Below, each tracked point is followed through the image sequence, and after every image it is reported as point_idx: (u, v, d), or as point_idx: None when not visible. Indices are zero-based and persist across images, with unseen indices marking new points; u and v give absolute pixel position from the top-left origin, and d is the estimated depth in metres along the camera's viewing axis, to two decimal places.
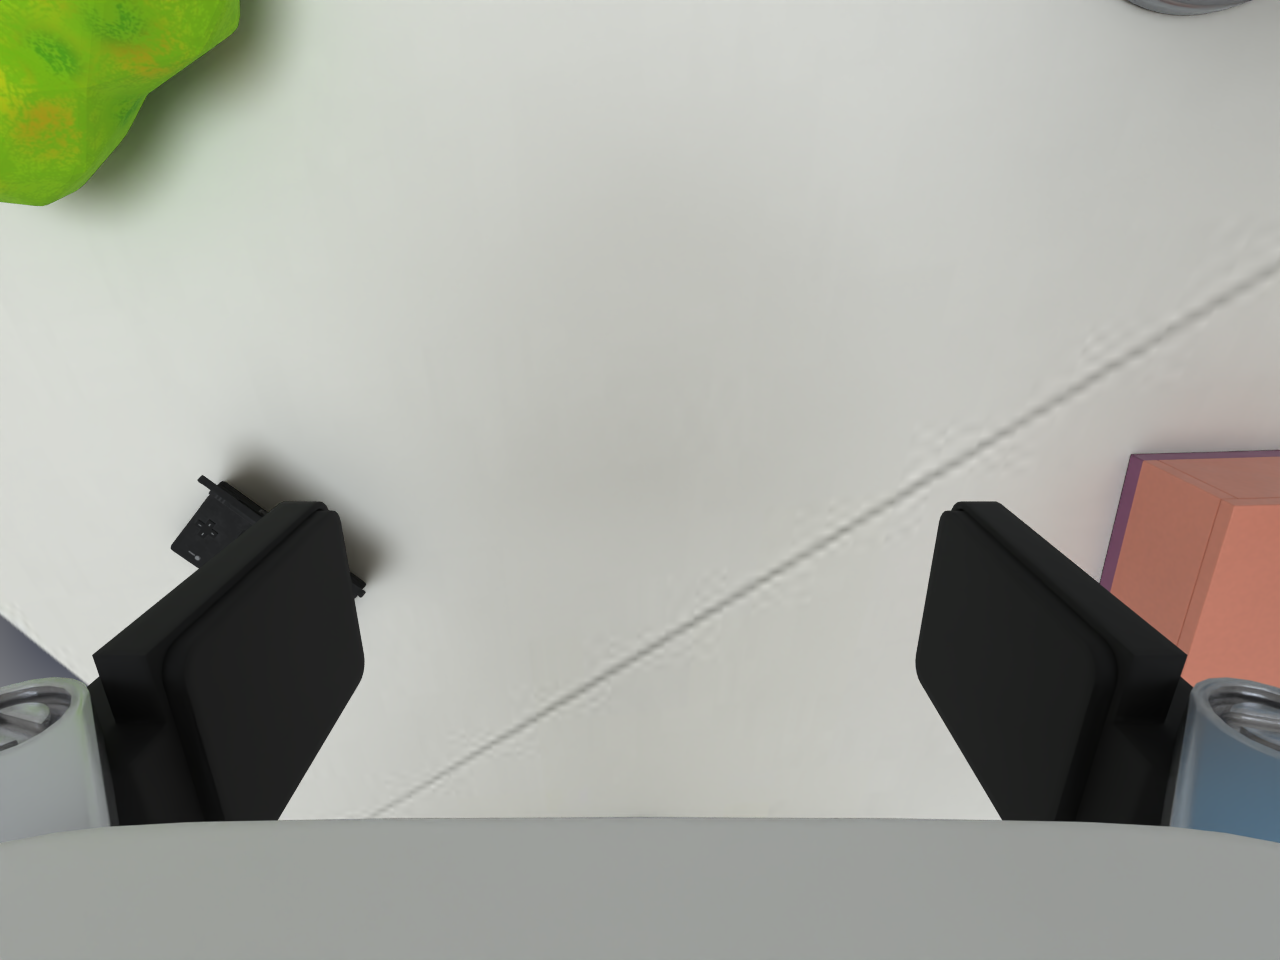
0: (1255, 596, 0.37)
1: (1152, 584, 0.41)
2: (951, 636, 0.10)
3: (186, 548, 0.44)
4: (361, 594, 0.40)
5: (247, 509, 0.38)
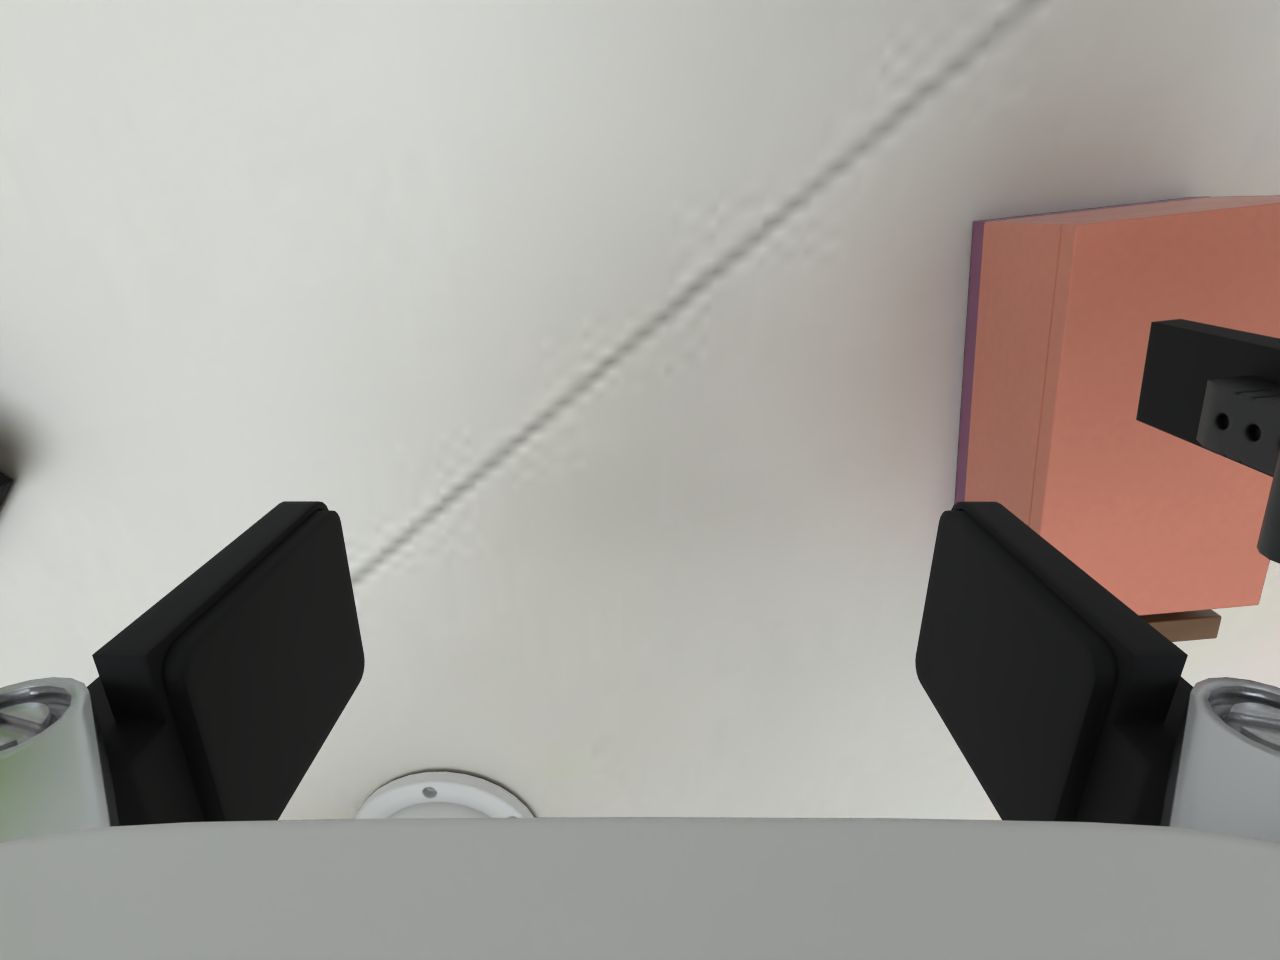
0: (1129, 369, 0.26)
1: (1006, 387, 0.30)
2: (951, 636, 0.10)
3: None
4: None
5: None
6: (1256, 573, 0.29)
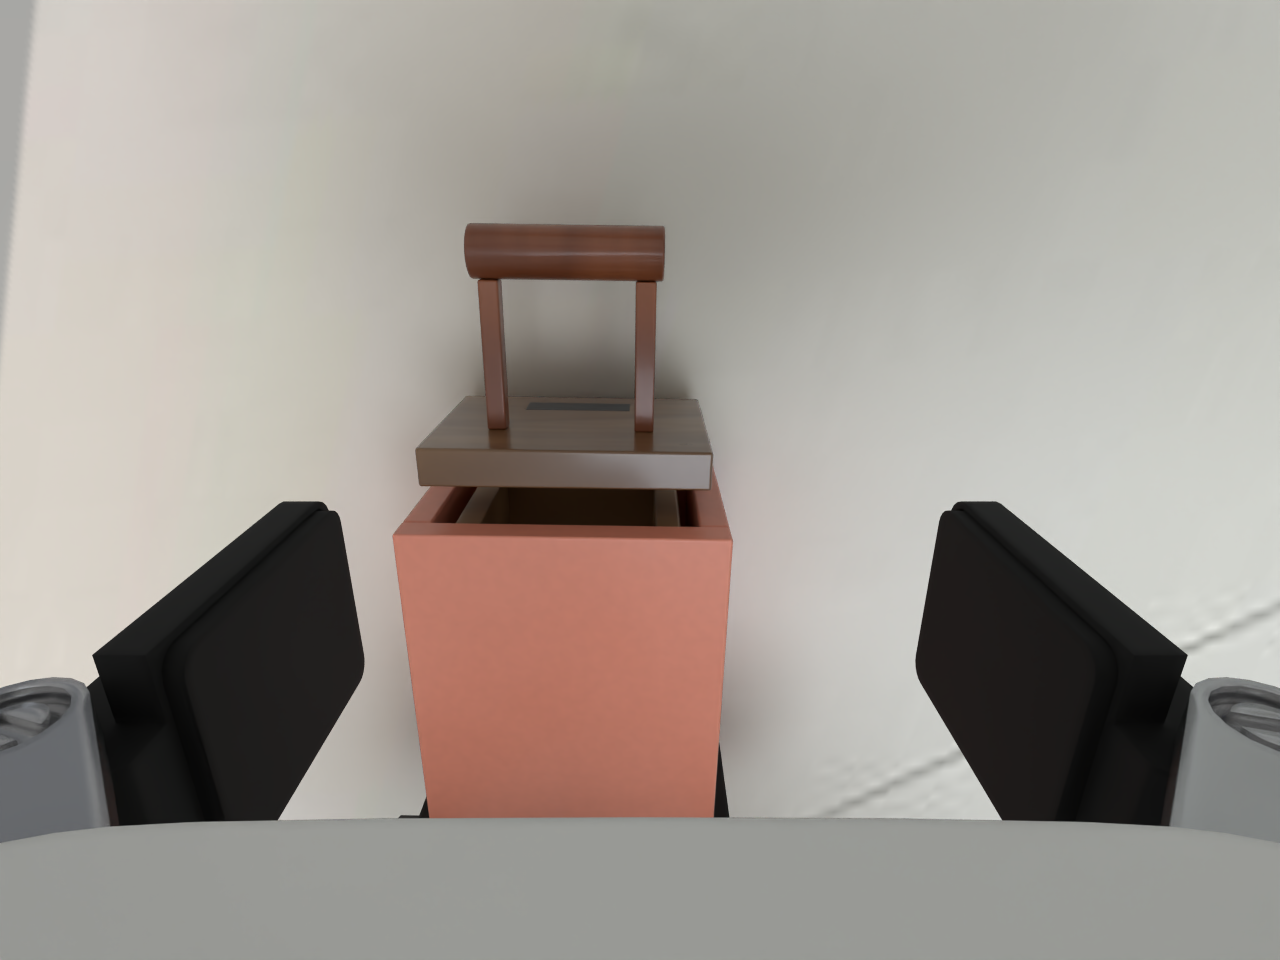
0: None
1: None
2: (951, 636, 0.10)
3: None
4: None
5: None
6: (413, 583, 0.20)
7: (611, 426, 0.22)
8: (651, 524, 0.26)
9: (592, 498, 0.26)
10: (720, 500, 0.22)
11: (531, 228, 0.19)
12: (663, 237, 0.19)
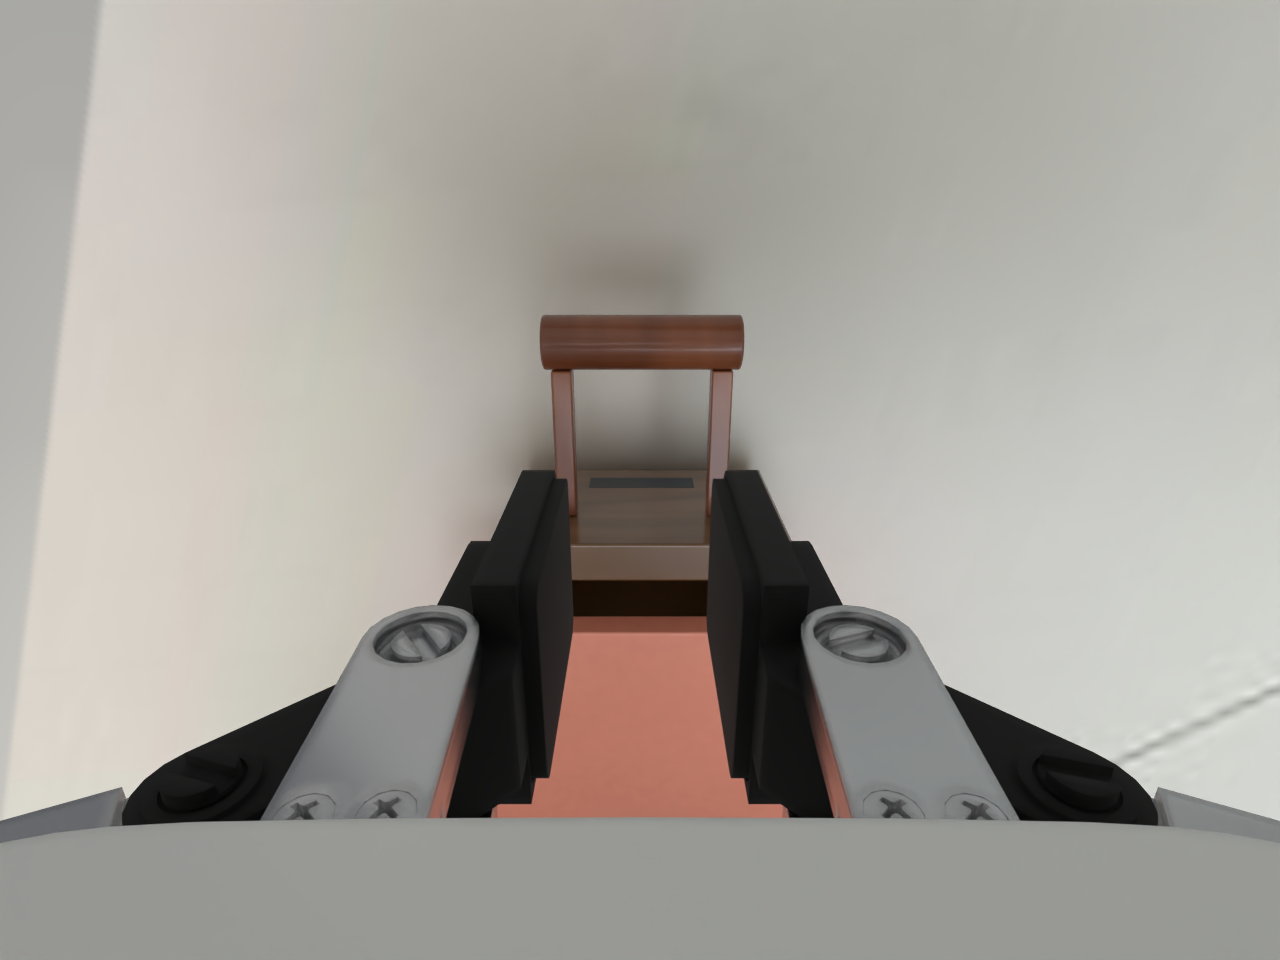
0: None
1: None
2: (714, 590, 0.11)
3: None
4: None
5: None
6: None
7: (681, 509, 0.22)
8: None
9: None
10: None
11: (607, 321, 0.19)
12: (742, 328, 0.19)
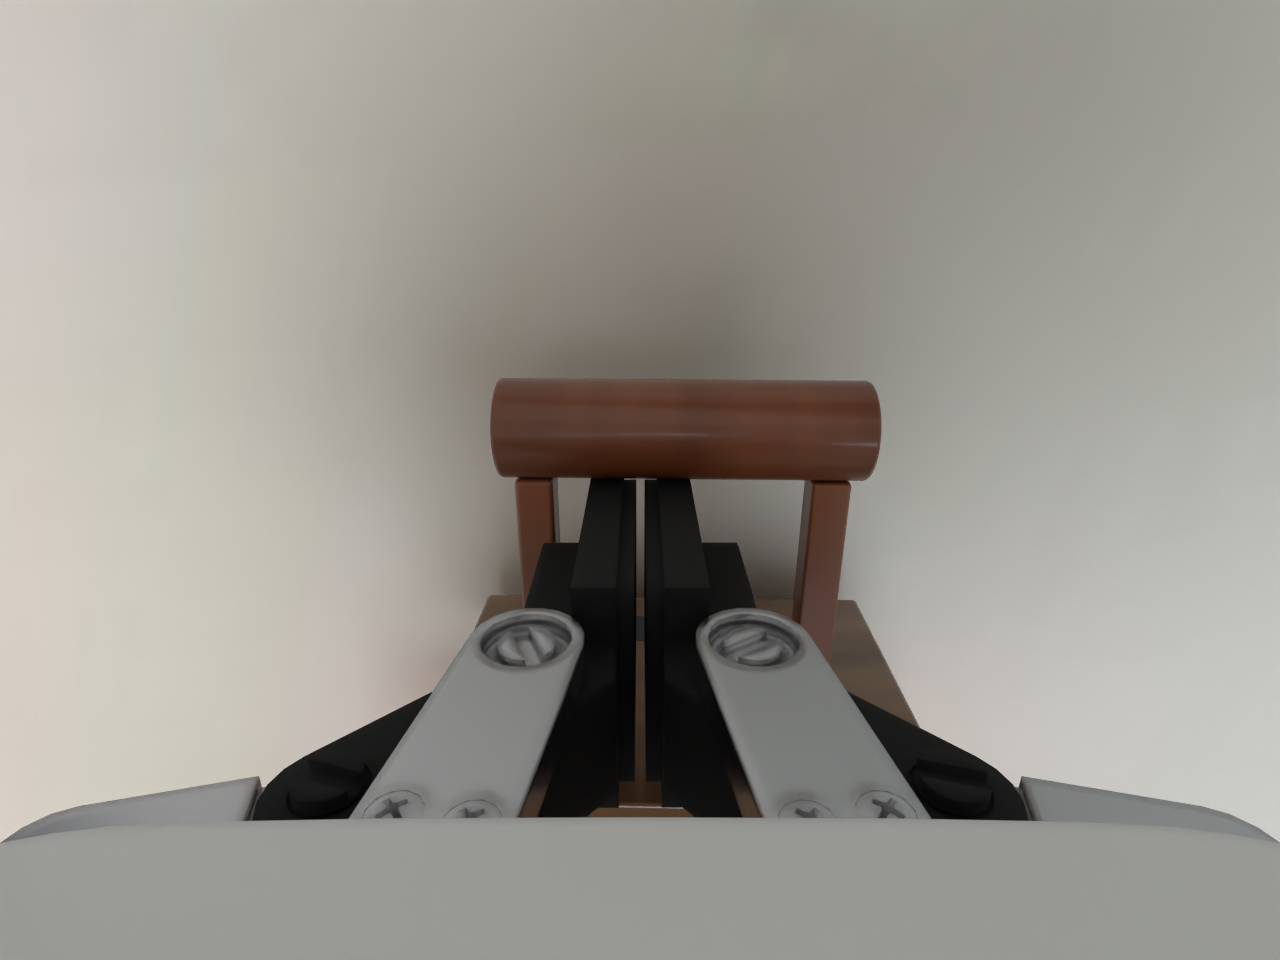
0: None
1: None
2: None
3: None
4: None
5: None
6: None
7: None
8: None
9: None
10: None
11: (619, 393, 0.10)
12: (878, 410, 0.10)
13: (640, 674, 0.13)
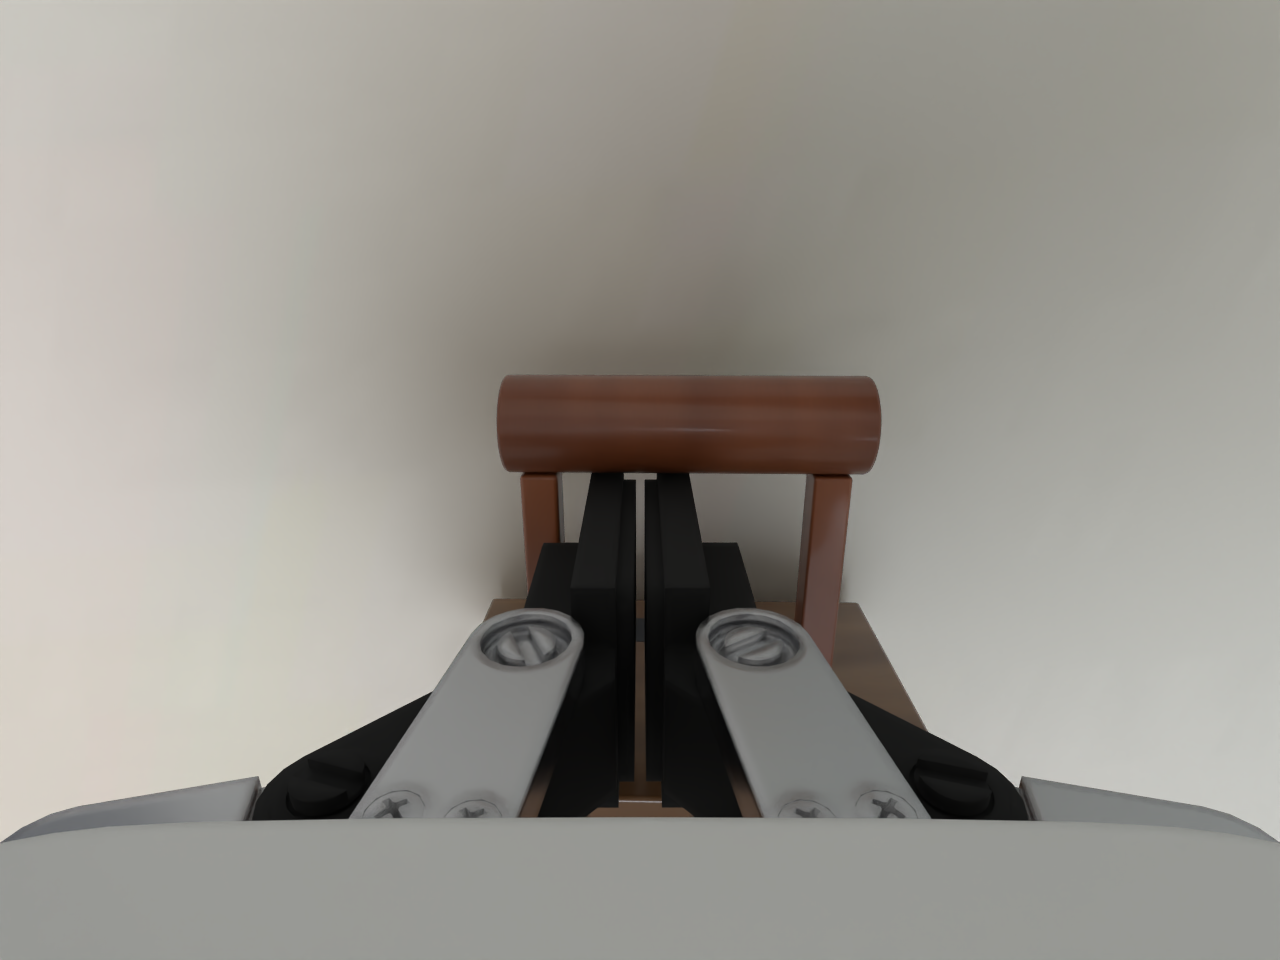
0: None
1: None
2: None
3: None
4: None
5: None
6: None
7: None
8: None
9: None
10: None
11: (623, 388, 0.10)
12: (878, 404, 0.10)
13: (644, 674, 0.13)
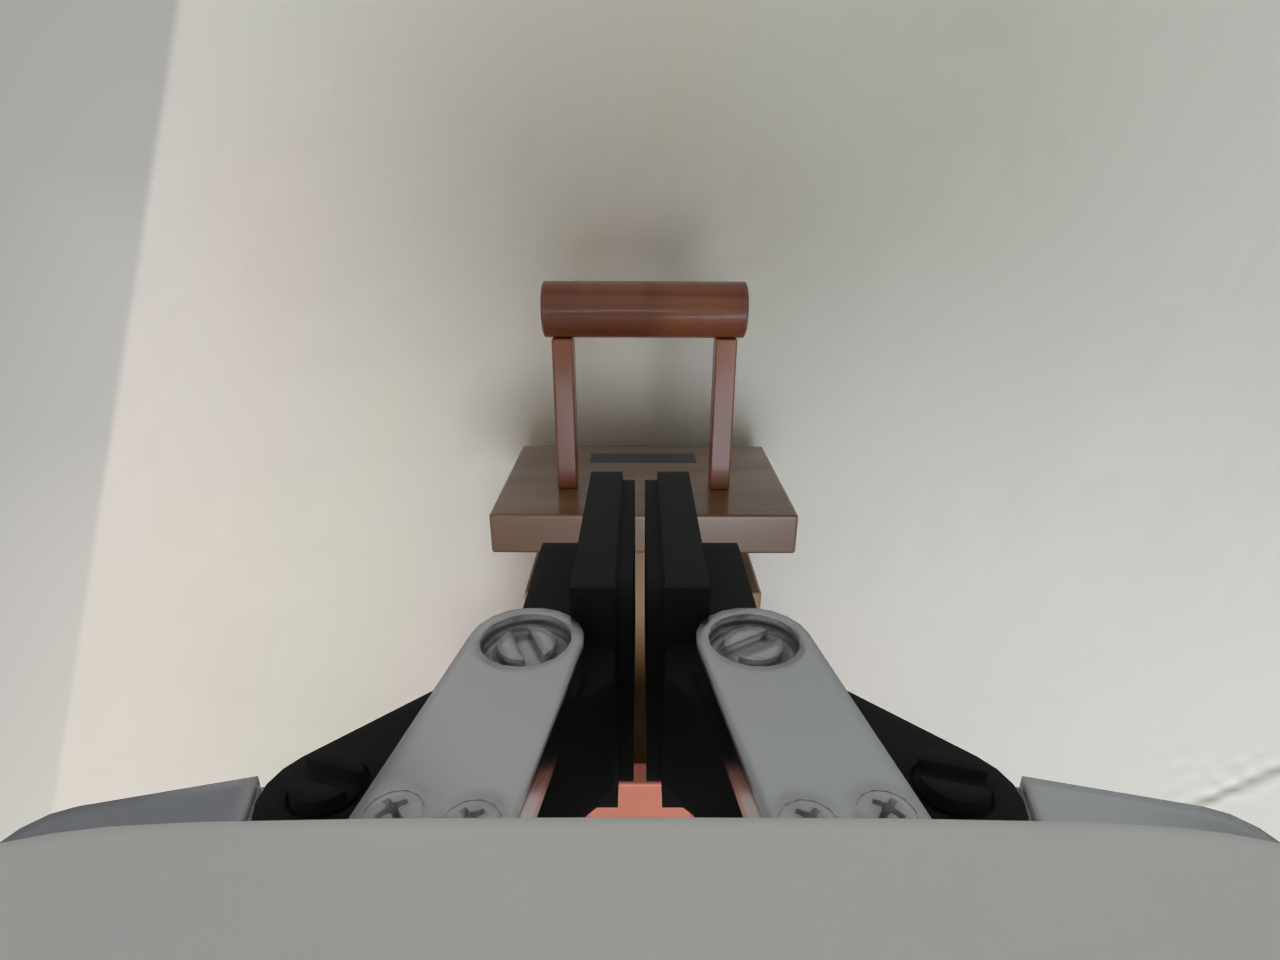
0: None
1: None
2: None
3: None
4: None
5: None
6: None
7: None
8: None
9: None
10: None
11: (609, 286, 0.19)
12: (747, 294, 0.18)
13: None
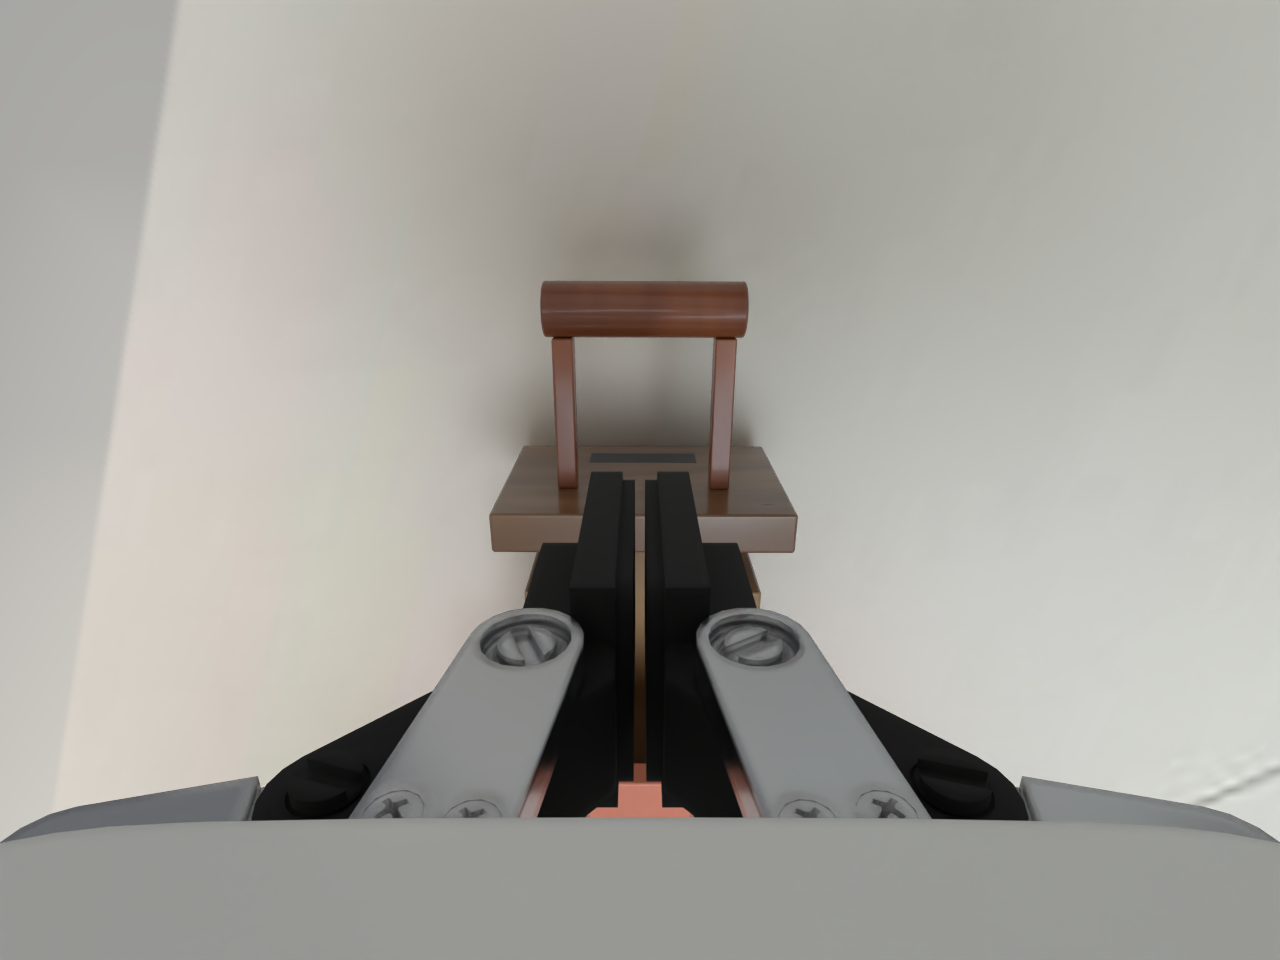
0: None
1: None
2: None
3: None
4: None
5: None
6: None
7: None
8: None
9: None
10: None
11: (609, 286, 0.19)
12: (747, 294, 0.19)
13: None
